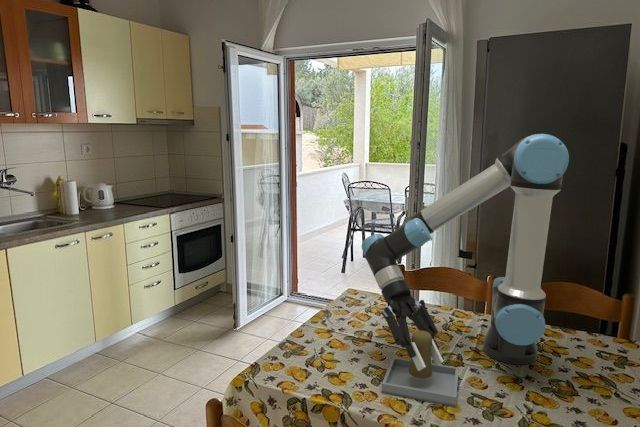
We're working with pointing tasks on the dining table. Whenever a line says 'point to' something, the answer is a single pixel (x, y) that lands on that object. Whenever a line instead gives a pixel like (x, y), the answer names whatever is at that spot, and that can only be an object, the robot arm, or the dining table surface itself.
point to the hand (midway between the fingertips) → (430, 366)
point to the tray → (422, 383)
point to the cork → (422, 354)
